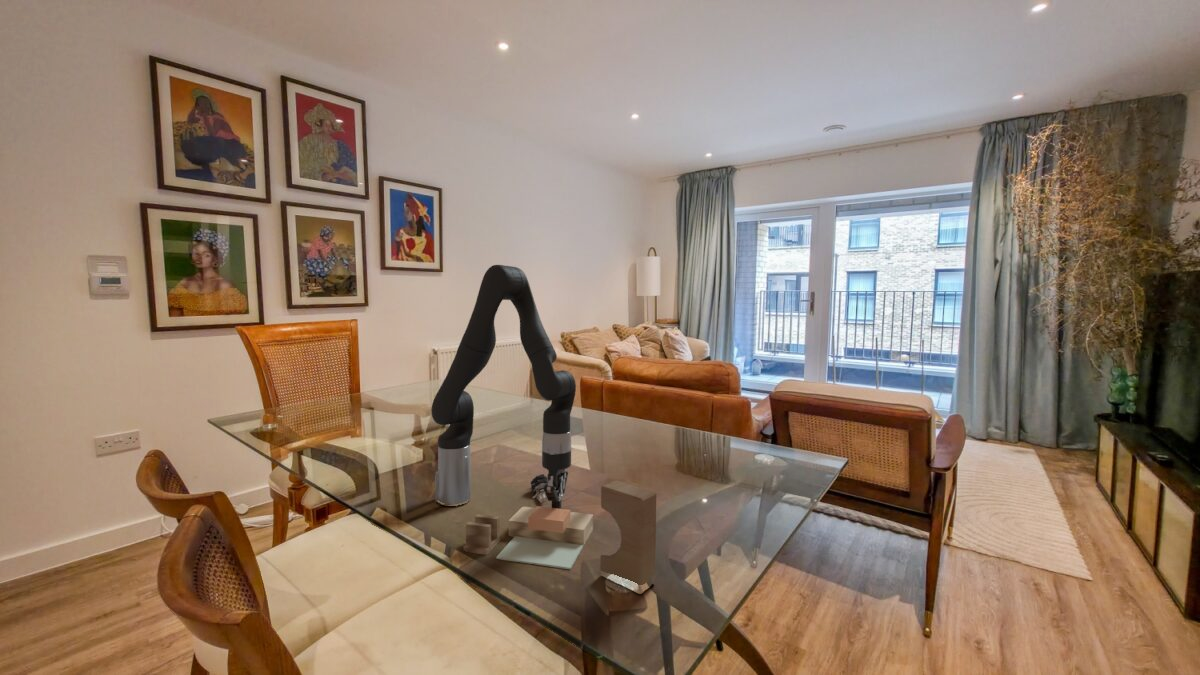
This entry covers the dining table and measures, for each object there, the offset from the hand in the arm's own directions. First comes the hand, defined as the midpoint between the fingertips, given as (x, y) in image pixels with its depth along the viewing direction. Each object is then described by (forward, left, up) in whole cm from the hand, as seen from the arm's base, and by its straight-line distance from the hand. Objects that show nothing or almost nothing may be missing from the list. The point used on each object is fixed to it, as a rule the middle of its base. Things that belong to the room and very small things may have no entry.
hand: (556, 513), depth 120 cm
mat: (0, -11, -5) cm, 12 cm away
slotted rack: (-15, -11, -5) cm, 19 cm away
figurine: (-12, +23, -5) cm, 26 cm away
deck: (-1, -1, -5) cm, 5 cm away
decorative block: (+22, -17, -5) cm, 28 cm away
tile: (0, -5, -1) cm, 5 cm away
